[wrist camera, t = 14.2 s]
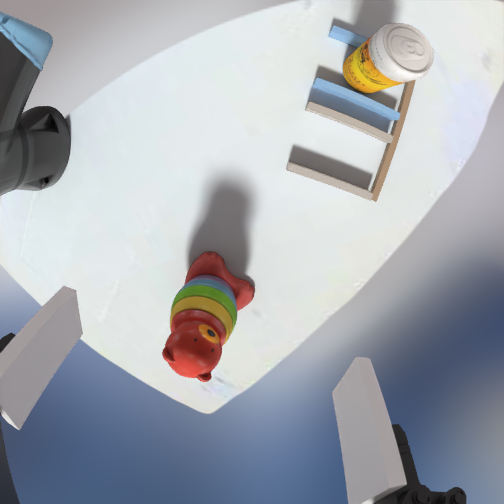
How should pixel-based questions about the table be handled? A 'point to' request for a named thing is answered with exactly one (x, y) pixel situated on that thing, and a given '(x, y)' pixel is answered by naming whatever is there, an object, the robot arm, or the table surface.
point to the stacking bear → (204, 317)
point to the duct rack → (358, 123)
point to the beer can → (388, 59)
